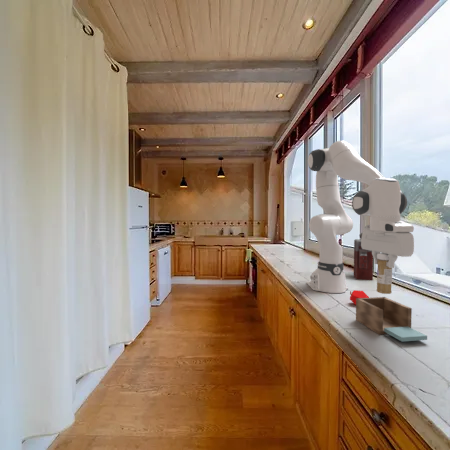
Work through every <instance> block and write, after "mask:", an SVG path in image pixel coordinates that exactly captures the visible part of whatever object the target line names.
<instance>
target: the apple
mask: <svg viewBox="0 0 450 450" xmlns="http://www.w3.org/2000/svg"><path fill="white" fill-rule="evenodd" d="M349 295H350V296H349V300H350V301H351V303H353V304H354V305H355V306H356V298H370V297H369V295H368V294H367V293H365V291H364V290H356V289H355V290H354V289H353V291H350V292H349Z"/></svg>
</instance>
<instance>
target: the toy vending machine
mask: <svg viewBox="0 0 450 450" xmlns="http://www.w3.org/2000/svg"><path fill="white" fill-rule="evenodd" d="M362 233H363V231H362V232H360V234H359V235H358V236H359V238H360V239H358V238H357V239H354V240H353V278H354V279H355V280H358V281H359V280H360V281H363V280H364V281H374V257H373V255H372V251H370V250H365V249H362V247H361V239H362Z"/></svg>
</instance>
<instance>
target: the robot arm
mask: <svg viewBox="0 0 450 450" xmlns="http://www.w3.org/2000/svg"><path fill="white" fill-rule="evenodd" d="M307 165H308V168H309V169H310V170H311V171H312V172H316V174H315V191H316V201H317V205H318V206H319V207H320V208H321V209H322V210H323V212H324V213H321V214H317V215H314V216H312V217H311V218H310V219H309V224H308V226H309V230H310V232H311V234H313V235H314V236H315V238H316V240H317V242H318V243H317V244H318V247H319V248H318V249H319V253H318V254H319V261H318V262H317V267H316V269H315V270H314V271H313V272H311V275H310V276H309V277H310V280H307V281H306V284H307V285H308V287H310V288H311V289H312V291H319V292H323V293H329V294H341V293H345V292H347V291H346V290H348V289H349V287H348V286H347V283H346V282H347V281H346V273H345V272H344V267H345V266H344V262H343V257H344V256H343V252H344V251H343V249H344V248H343V247H342V245H341V244H340V243H339V242H338V239H337V236H342V235H346V234H348V233H350V232H351V231H352V229H353V228H354V222H353V219H352V218H351V216H349V215H348V213H347V212H346V210H345V208H344V206H343V204H342V200H341V194H340V186H339V180H338V177H339V178H341V179H342V180H343V179H344V180H346V181H347V180H348V181H354V182H359V183H363V184H366V185H367V187H366V188H364V189H362V190H359V191H357V192H356V193H355V194H354V196H353V197H352V201H351V207H352V209H353V211H354V213H356V214H357V215H358V216H362V217H363V216H365V217H366V216H367V217H369V224H366V226H364V228H363V231H362V232H363V233H362V232H361V233H362V239H361V238H360V239H361V247H362V249H365V250H370V251H372V255H373V264H375V265H377V266H378V260H377V254H378V253H386V254H389V257H390V259H389V261H388V262H386V264H387V265H386V267H389V268H392V269H394V268H395V263H396V261H397V260H398V257H401V258H404V257H406V258H407V257H412V255H413V254H414V253H415V239H414V235H413V234H412V233H413V232H414V229H415V228H414V225H413V224H410V223H407V222H406V221H404V220H401V214H403V212H404V211H405V210H406V209H407V205H408V199H407V197H406V194H405V193H404V192H403V191H402V190H401V185H400V182H399V180H398V179H396V178H386V177H385V176H384V175H383V174H382V173H381V171H379V170H378V169H377V168H375V167H374V166H373V165H371V164H370V163H368V162H367V161H365V160H364V159H363V158H362V157H361V156H360V155H359V153H358V152H357V150H355V148H354V147H353V146H352V145H351V144H350V143H349V142H347V141H346V140H337V141H335V142H333V143H332V144H331V145H330V146H329V148H327V147H326V148H321V149H320V148H319V149H318V148H317V149H315V150H312V151H311V152H310V153H309V154H308V159H307Z"/></svg>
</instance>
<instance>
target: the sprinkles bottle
mask: <svg viewBox="0 0 450 450" xmlns="http://www.w3.org/2000/svg"><path fill="white" fill-rule="evenodd" d="M389 259H390V257H389V254H386V253H381V252H380V253H378V254H377V260H378V265H377V270H376V274H377V275H376V292H377V293H379V294H381V295H382V294H384V295H390V294H392V283H393V282H392V281H393V268H389V267H386V265H387V264H386V262H388V261H389Z"/></svg>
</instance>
